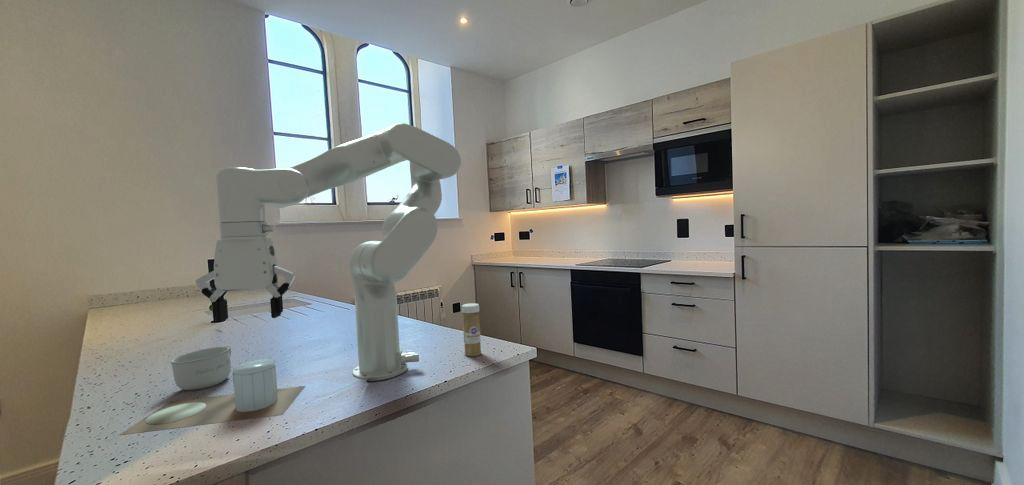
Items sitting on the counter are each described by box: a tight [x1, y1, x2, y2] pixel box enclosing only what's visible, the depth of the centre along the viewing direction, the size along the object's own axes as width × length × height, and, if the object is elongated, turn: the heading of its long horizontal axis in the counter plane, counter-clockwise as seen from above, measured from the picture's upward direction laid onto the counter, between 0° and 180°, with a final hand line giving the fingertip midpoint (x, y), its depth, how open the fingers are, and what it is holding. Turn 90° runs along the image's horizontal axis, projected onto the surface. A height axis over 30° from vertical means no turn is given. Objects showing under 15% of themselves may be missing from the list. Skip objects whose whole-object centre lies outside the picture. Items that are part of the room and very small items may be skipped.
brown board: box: [119, 385, 306, 436], centre depth 79 cm, size 26×14×3 cm, turn 101°
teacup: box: [170, 344, 232, 391], centre depth 95 cm, size 14×11×8 cm
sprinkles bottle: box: [461, 302, 482, 357], centre depth 107 cm, size 5×5×13 cm
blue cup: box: [232, 358, 278, 412], centre depth 80 cm, size 7×7×8 cm
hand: (249, 318), depth 80 cm, fingers open, 9 cm apart
